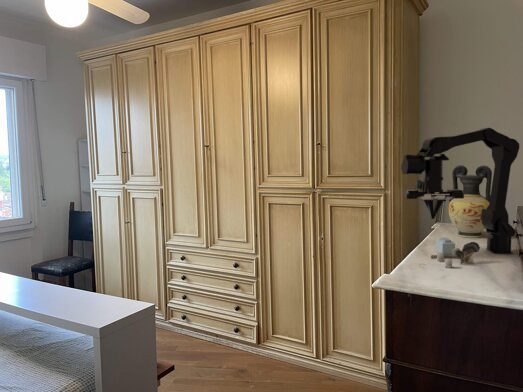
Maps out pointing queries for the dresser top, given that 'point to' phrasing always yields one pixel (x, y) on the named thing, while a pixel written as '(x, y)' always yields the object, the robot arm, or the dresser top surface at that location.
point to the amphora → (470, 201)
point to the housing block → (444, 246)
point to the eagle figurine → (466, 251)
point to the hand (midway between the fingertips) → (432, 218)
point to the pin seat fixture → (447, 261)
